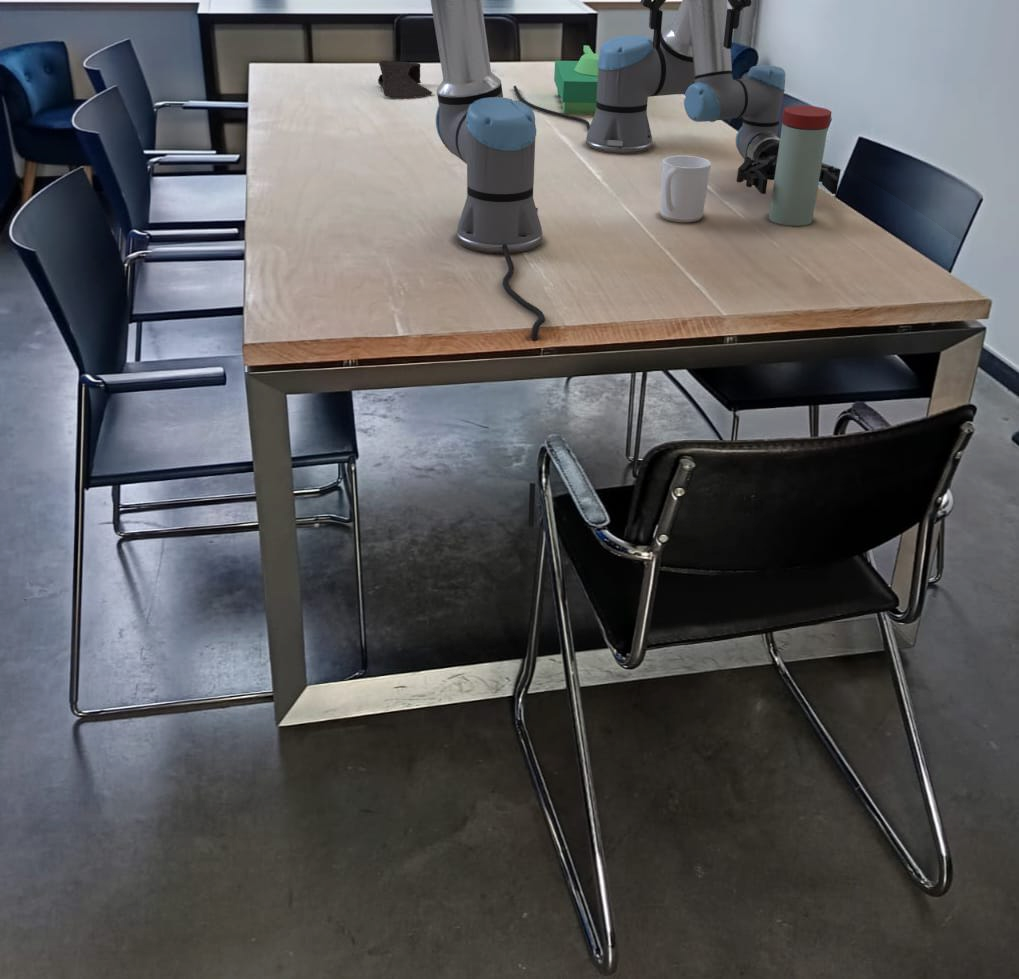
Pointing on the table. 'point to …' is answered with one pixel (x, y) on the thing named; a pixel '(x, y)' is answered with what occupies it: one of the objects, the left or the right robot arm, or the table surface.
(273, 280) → the table surface
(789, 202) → the jar
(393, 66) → the axe head
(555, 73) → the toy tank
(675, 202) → the mug
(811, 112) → the lid
